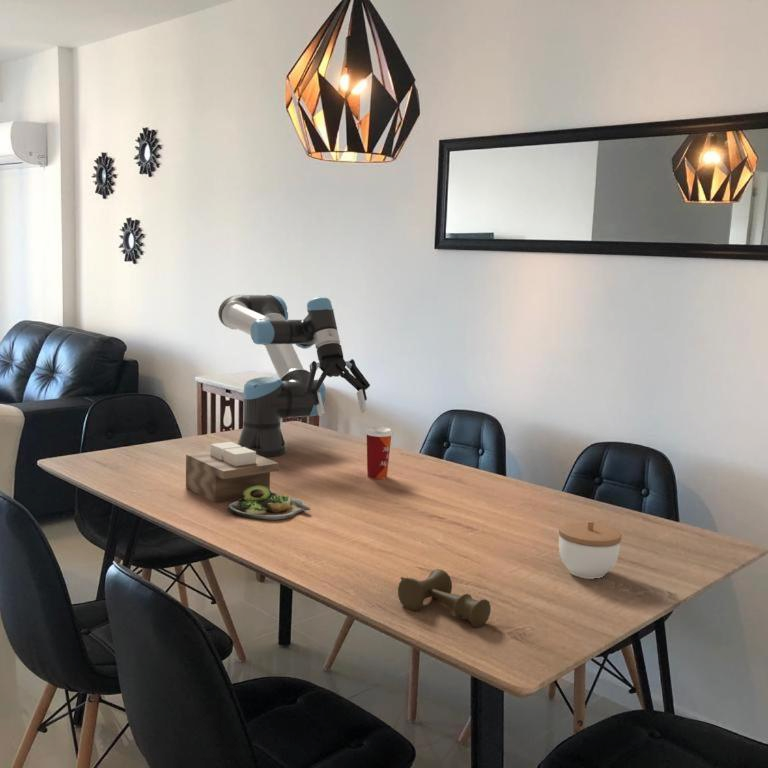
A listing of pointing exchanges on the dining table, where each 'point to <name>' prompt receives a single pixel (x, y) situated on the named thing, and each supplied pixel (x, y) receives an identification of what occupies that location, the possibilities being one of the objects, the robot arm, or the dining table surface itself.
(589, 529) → the lidded bowl
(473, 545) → the dining table surface
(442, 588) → the kendama
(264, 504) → the salad plate
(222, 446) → the tile
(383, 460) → the paper cup
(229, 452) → the tile
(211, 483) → the block
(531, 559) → the dining table surface
